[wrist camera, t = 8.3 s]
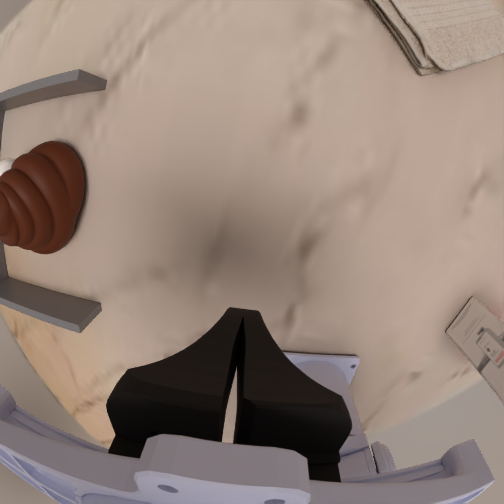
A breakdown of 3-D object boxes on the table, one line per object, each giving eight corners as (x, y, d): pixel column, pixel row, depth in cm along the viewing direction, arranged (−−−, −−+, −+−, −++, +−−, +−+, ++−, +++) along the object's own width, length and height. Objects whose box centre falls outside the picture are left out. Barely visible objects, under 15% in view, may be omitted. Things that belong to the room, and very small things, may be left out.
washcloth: (335, -22, 14) (343, -40, 11) (451, -35, 10) (463, -45, 7) (418, 87, 17) (438, 80, 14) (510, 50, 13) (527, 45, 10)
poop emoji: (72, 265, 22) (5, 312, 13) (17, 223, 21) (-50, 251, 12) (105, 161, 19) (21, 170, 10) (41, 128, 18) (-36, 128, 9)
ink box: (498, 324, 23) (555, 380, 11) (474, 356, 24) (523, 419, 13) (471, 293, 21) (544, 358, 10) (442, 332, 23) (504, 409, 12)
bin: (101, 310, 23) (80, 333, 19) (5, 282, 23) (-16, 296, 19) (106, 80, 17) (79, 69, 13) (1, 105, 17) (-24, 103, 13)
